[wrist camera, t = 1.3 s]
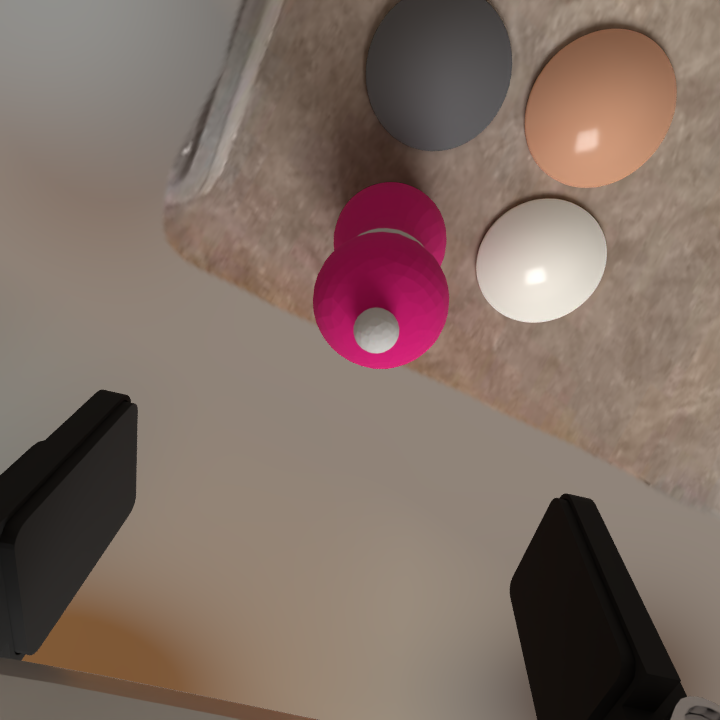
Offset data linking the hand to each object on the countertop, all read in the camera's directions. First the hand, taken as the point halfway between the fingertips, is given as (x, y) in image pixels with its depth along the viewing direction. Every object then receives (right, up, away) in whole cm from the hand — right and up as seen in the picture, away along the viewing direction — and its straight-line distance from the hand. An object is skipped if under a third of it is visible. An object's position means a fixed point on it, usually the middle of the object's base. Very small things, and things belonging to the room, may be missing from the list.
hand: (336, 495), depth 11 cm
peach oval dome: (+16, +19, +21) cm, 33 cm away
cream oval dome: (+14, +10, +26) cm, 31 cm away
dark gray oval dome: (+5, +21, +21) cm, 30 cm away
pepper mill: (+3, +13, +26) cm, 29 cm away
